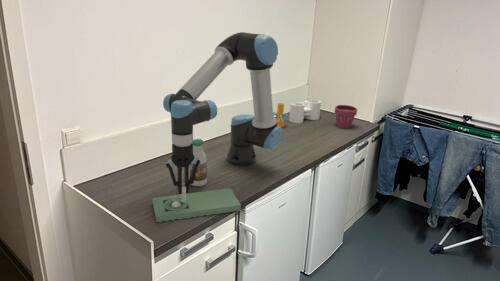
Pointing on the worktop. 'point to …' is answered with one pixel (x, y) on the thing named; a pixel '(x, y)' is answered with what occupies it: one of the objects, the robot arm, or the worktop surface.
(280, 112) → the orange blue toy
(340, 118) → the plant pot
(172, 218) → the plate
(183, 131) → the robot arm
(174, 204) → the ball
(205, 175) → the milk bottle
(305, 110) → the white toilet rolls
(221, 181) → the worktop surface
